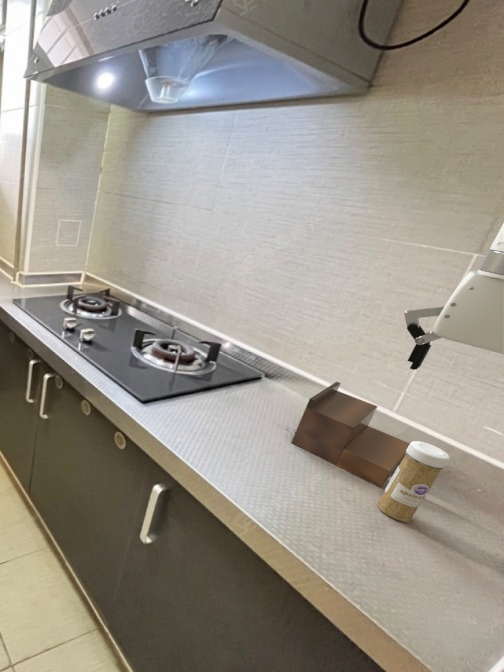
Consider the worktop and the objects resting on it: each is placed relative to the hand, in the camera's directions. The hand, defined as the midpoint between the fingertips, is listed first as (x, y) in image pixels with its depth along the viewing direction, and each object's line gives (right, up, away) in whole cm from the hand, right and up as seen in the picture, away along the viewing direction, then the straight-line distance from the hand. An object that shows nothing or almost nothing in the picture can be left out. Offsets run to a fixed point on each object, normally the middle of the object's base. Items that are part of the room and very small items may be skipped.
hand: (458, 381), depth 58 cm
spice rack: (+5, -18, +25) cm, 31 cm away
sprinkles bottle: (-1, -24, +9) cm, 26 cm away
